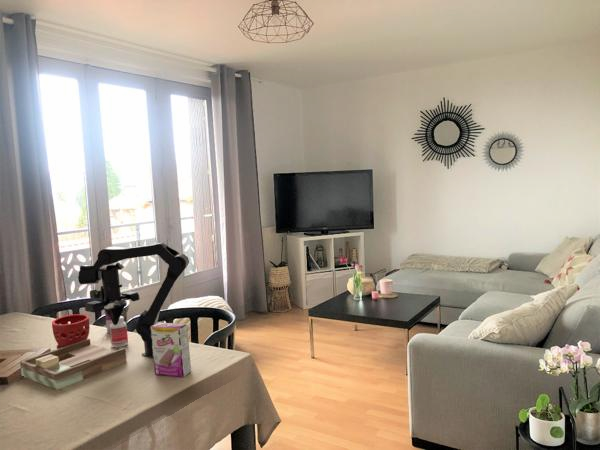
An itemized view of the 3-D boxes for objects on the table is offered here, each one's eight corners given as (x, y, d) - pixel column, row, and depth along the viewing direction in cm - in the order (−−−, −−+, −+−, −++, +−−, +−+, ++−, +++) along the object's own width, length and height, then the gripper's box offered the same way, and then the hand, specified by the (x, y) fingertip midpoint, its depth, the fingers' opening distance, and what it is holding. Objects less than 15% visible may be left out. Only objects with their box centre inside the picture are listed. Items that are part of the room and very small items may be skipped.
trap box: (126, 362, 175) (125, 348, 174) (57, 389, 155) (55, 374, 154) (89, 351, 188) (88, 338, 188) (21, 375, 168) (20, 361, 168)
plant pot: (47, 353, 189) (43, 322, 188) (74, 341, 201) (71, 312, 200) (73, 356, 184) (69, 324, 183) (99, 344, 196) (96, 314, 195)
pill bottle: (131, 344, 193) (128, 316, 192) (115, 349, 189) (112, 320, 188) (124, 341, 198) (121, 314, 197) (109, 345, 194) (106, 318, 193)
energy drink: (108, 333, 209) (105, 306, 208) (106, 330, 214) (103, 303, 213) (121, 331, 212) (118, 303, 210) (119, 328, 216) (116, 301, 215)
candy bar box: (153, 375, 161) (149, 326, 159) (162, 369, 166) (158, 321, 164) (183, 378, 158) (179, 328, 156) (192, 371, 162) (187, 323, 160)
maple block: (59, 368, 164) (58, 356, 164) (44, 374, 160) (43, 362, 160) (51, 365, 167) (50, 354, 167) (37, 371, 163) (35, 359, 163)
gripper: (120, 275, 190) (124, 315, 192) (74, 286, 175) (78, 329, 177) (138, 277, 183) (142, 318, 185) (91, 289, 168) (96, 333, 170)
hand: (115, 324), depth 179 cm, fingers closed
